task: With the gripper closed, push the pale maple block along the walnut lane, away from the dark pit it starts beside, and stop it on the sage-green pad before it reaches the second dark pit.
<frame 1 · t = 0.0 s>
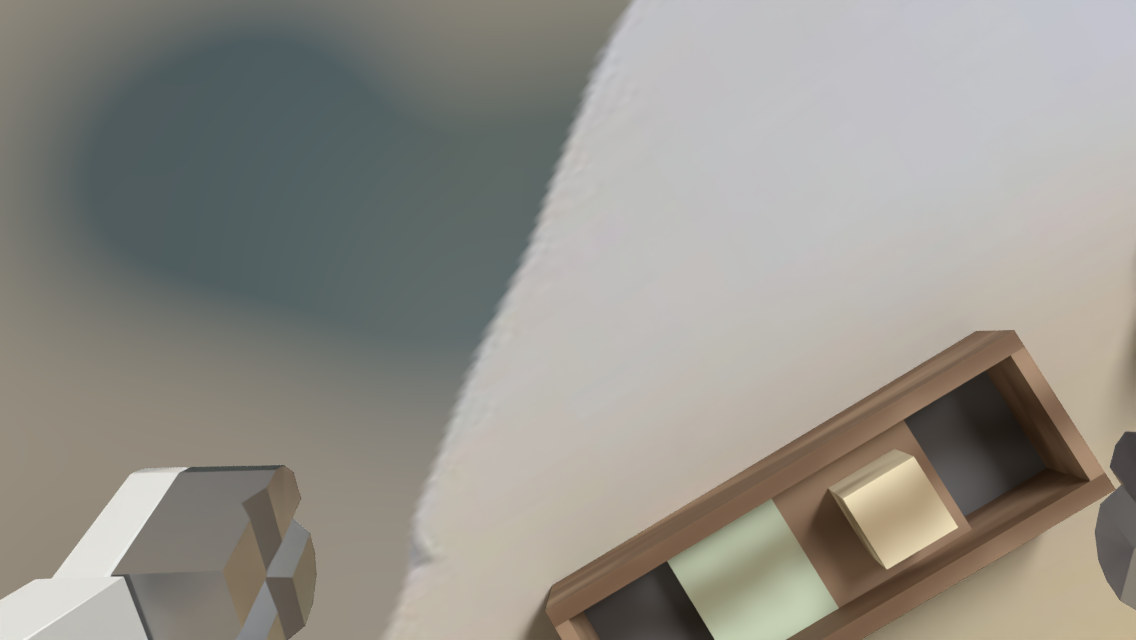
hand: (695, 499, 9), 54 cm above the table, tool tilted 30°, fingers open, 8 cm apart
trap lane: (805, 531, 62), on the table
maple block: (881, 501, 59), point 3 cm above the table, touching trap lane
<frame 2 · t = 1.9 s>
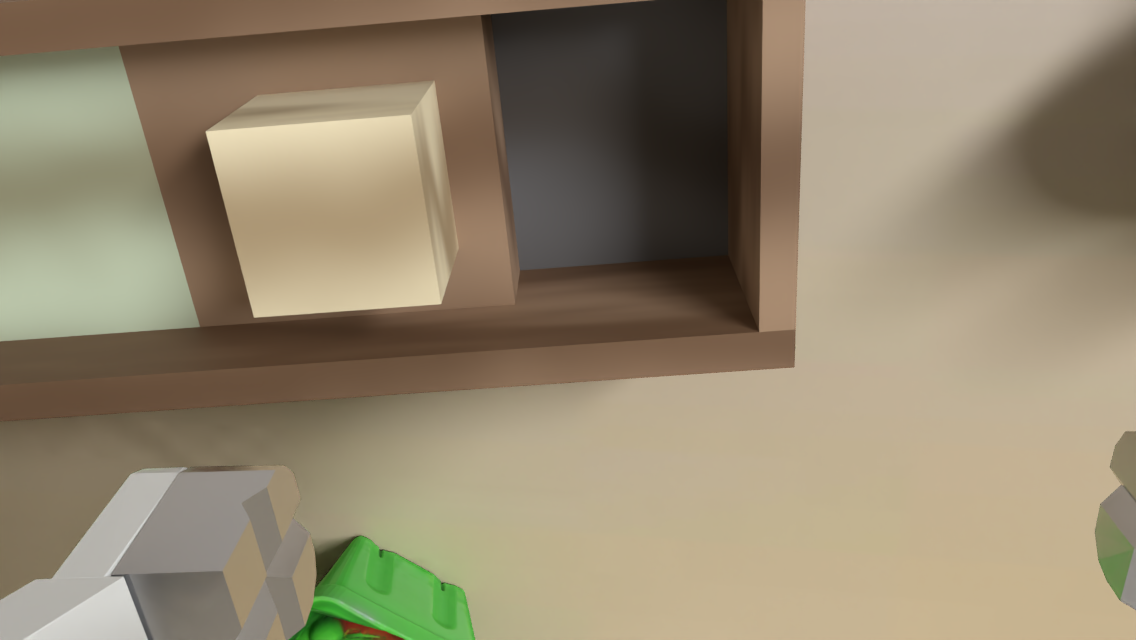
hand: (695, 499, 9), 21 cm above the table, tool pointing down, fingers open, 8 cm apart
trap lane: (228, 159, 29), on the table
maple block: (361, 174, 26), point 3 cm above the table, touching trap lane
fruit basket: (347, 618, 38), on the table
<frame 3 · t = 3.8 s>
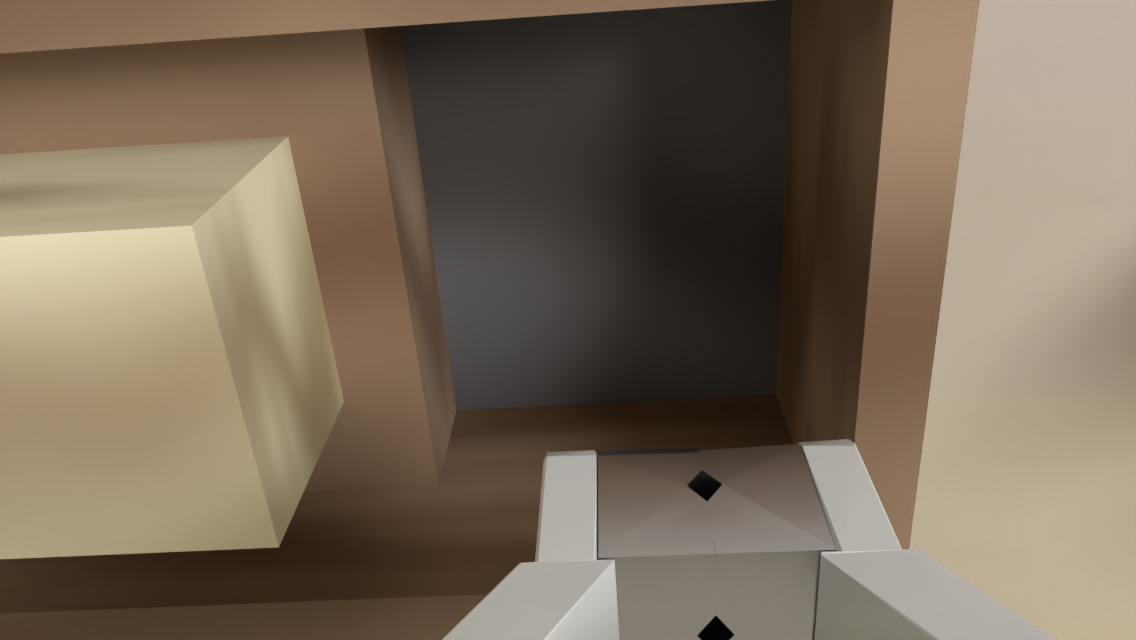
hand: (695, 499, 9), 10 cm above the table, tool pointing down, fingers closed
maple block: (176, 286, 16), point 3 cm above the table, touching trap lane
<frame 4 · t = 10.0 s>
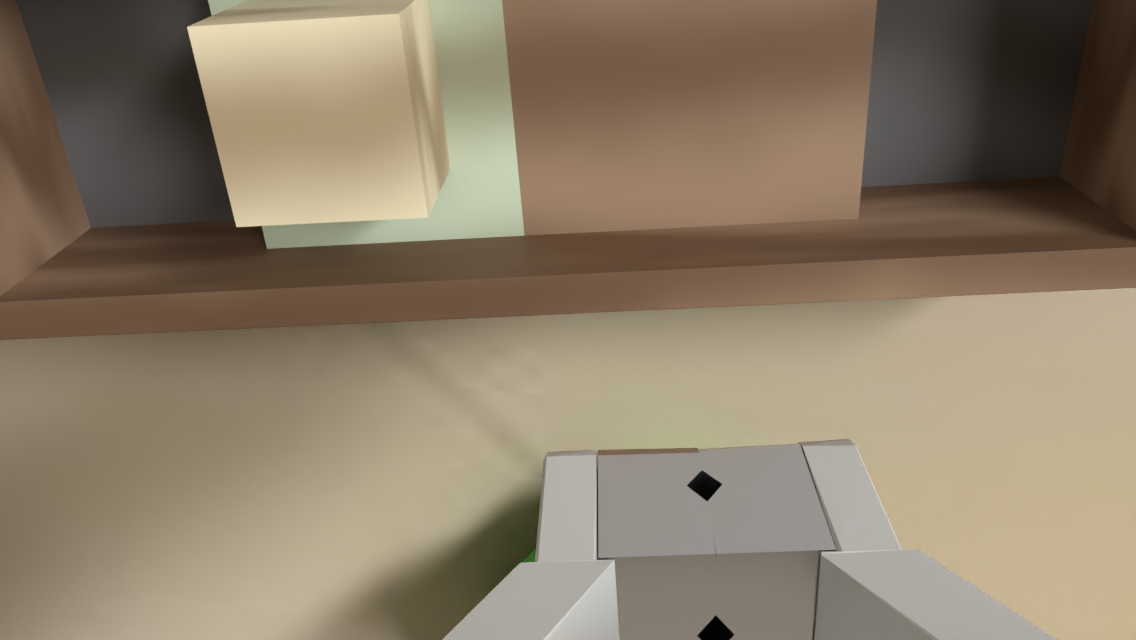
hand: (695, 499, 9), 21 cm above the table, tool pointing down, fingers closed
trap lane: (550, 62, 28), on the table
maple block: (352, 87, 26), point 3 cm above the table, touching trap lane
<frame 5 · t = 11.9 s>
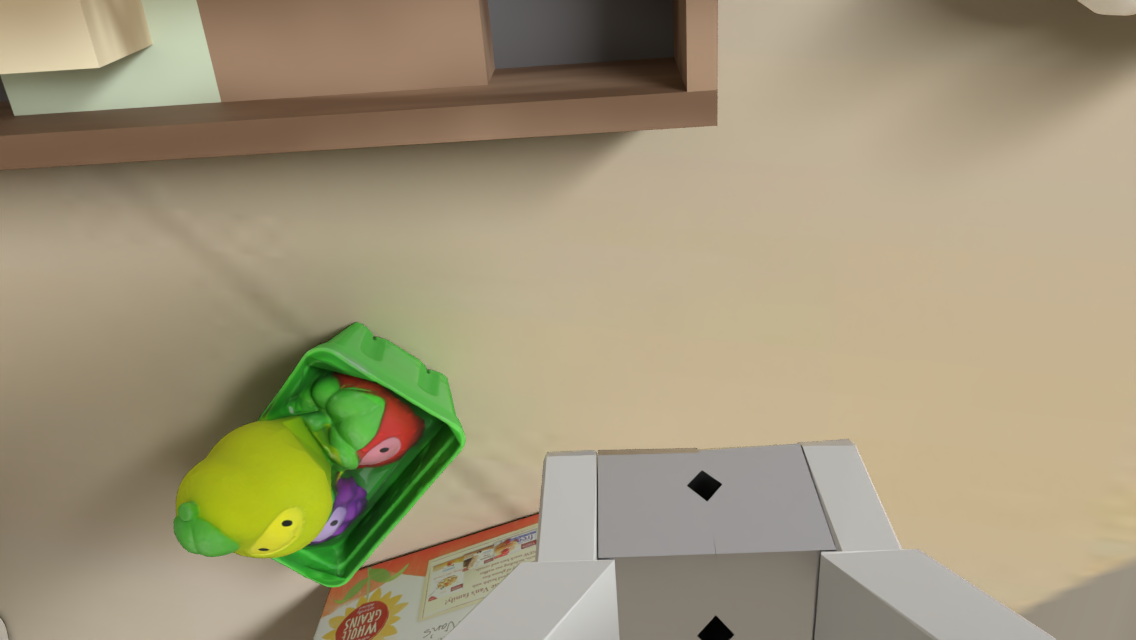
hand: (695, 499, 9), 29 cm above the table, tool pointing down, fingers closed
cracker box: (474, 574, 49), on the table
fruit basket: (345, 404, 44), on the table
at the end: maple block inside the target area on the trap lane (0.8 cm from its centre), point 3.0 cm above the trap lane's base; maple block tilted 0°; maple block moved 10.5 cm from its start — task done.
